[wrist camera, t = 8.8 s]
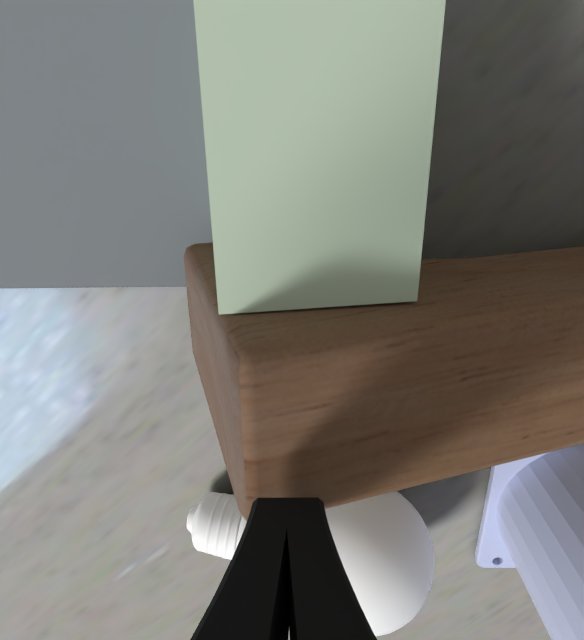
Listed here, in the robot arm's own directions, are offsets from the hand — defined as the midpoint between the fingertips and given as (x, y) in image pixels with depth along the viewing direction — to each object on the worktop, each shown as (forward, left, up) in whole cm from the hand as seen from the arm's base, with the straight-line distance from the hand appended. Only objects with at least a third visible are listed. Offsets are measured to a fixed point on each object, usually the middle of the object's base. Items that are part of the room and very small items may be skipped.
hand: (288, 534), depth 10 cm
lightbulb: (+5, +9, -9) cm, 14 cm away
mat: (+8, -8, -10) cm, 15 cm away
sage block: (0, -8, -10) cm, 13 cm away
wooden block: (+3, -2, -5) cm, 6 cm away
